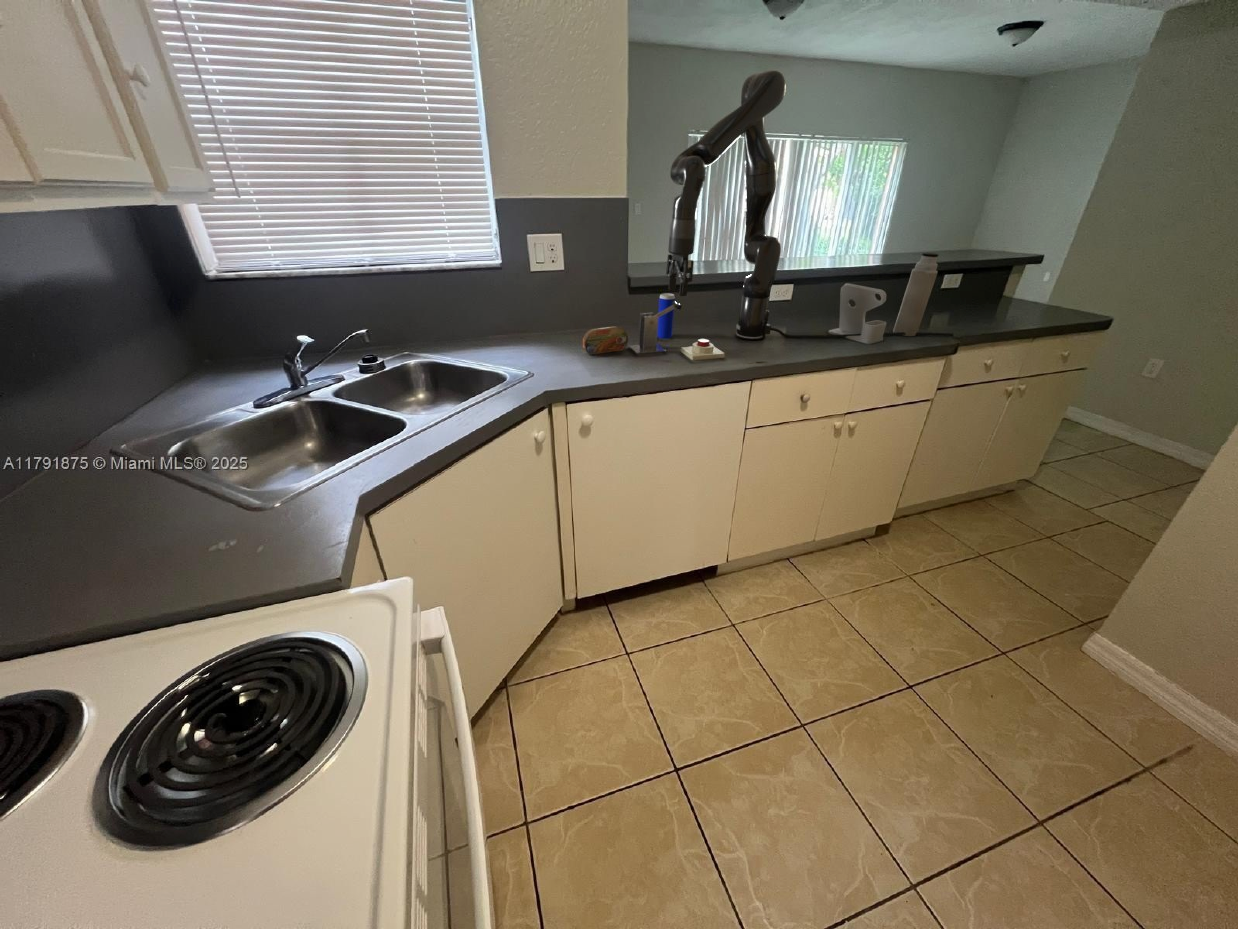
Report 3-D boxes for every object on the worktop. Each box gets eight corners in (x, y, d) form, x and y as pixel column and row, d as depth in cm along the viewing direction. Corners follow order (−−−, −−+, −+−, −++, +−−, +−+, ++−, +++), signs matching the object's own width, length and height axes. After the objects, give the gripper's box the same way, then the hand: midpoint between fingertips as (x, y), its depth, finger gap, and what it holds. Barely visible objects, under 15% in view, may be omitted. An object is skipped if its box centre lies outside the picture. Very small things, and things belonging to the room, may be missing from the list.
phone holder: (885, 340, 174) (901, 288, 165) (869, 344, 170) (884, 291, 160) (842, 328, 187) (855, 279, 177) (826, 332, 182) (838, 282, 173)
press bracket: (656, 346, 162) (659, 310, 156) (666, 354, 156) (668, 316, 150) (628, 349, 160) (629, 312, 154) (636, 356, 153) (638, 318, 147)
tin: (585, 358, 150) (585, 331, 146) (581, 355, 153) (580, 328, 148) (628, 352, 157) (628, 326, 152) (623, 349, 159) (624, 323, 155)
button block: (710, 351, 159) (712, 339, 157) (724, 360, 152) (725, 347, 150) (680, 354, 156) (681, 341, 154) (692, 363, 149) (693, 350, 147)
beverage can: (671, 337, 172) (675, 293, 165) (671, 341, 168) (675, 296, 160) (657, 336, 173) (659, 292, 165) (656, 340, 168) (659, 295, 161)
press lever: (676, 305, 156) (673, 299, 154) (682, 309, 152) (680, 302, 150) (643, 324, 155) (640, 317, 154) (649, 328, 151) (646, 321, 150)
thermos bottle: (894, 329, 188) (918, 250, 174) (917, 332, 184) (944, 252, 170) (891, 333, 182) (916, 253, 168) (915, 337, 179) (943, 255, 164)
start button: (705, 343, 154) (706, 338, 153) (710, 347, 151) (711, 341, 150) (695, 344, 153) (696, 339, 152) (700, 348, 150) (701, 342, 149)
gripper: (704, 238, 138) (698, 297, 146) (683, 233, 150) (679, 288, 158) (680, 238, 136) (675, 298, 144) (661, 233, 148) (657, 289, 156)
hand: (677, 293), depth 151 cm, fingers open, 8 cm apart
